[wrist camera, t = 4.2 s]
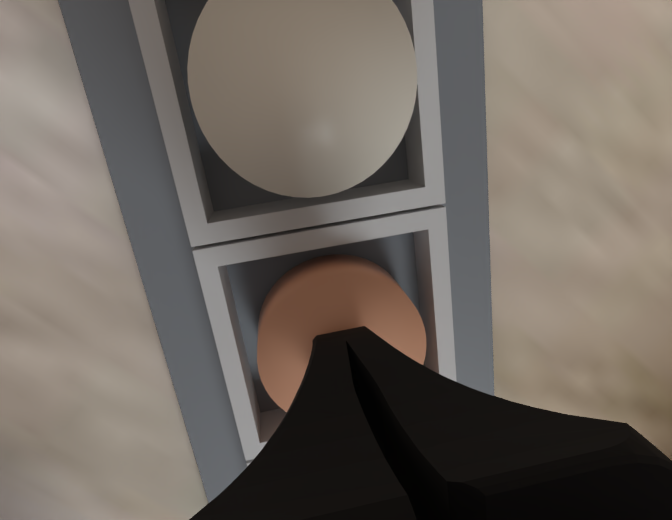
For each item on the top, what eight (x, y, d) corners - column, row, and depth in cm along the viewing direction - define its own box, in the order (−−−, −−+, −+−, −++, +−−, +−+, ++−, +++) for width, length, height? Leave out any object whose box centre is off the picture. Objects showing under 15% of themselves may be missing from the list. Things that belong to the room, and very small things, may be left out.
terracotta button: (273, 405, 14) (274, 441, 12) (243, 270, 12) (240, 291, 11) (414, 376, 14) (432, 407, 13) (401, 241, 13) (419, 258, 11)
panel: (239, 581, 17) (236, 644, 15) (52, -60, 11) (0, -102, 9) (489, 521, 18) (517, 573, 16) (464, -105, 12) (508, -152, 9)
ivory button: (223, 199, 11) (216, 214, 9) (177, -11, 9) (159, -35, 8) (403, 170, 11) (425, 179, 10) (385, -36, 10) (407, -63, 8)
